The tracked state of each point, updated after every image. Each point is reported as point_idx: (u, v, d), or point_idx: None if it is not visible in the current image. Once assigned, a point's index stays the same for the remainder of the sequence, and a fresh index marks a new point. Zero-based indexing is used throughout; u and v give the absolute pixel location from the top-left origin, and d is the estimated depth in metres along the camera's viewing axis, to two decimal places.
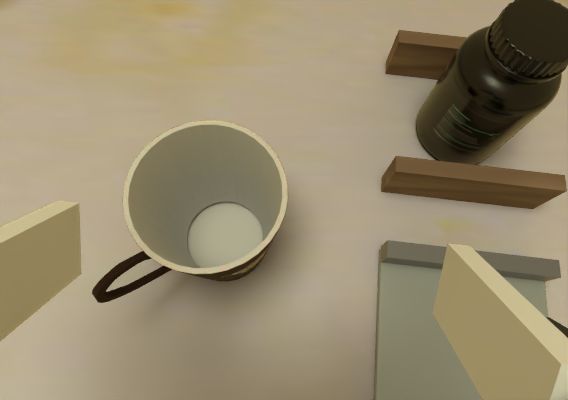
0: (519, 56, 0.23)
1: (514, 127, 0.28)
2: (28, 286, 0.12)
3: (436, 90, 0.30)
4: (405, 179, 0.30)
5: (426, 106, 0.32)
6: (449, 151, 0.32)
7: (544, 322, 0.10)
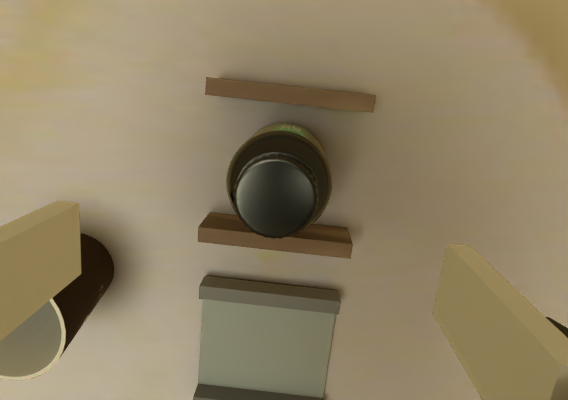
0: (249, 228, 0.24)
1: None
2: (28, 286, 0.12)
3: None
4: None
5: None
6: None
7: (544, 322, 0.10)
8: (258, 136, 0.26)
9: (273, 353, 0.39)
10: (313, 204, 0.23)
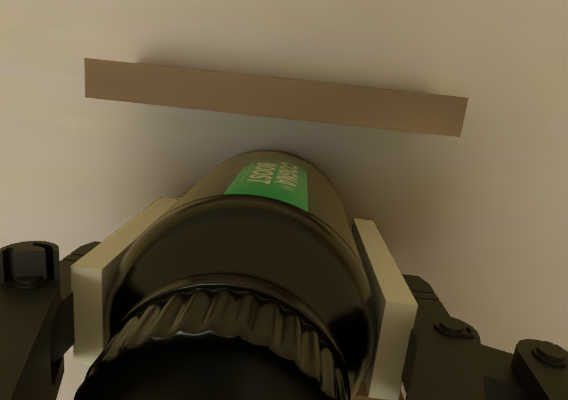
0: None
1: None
2: None
3: None
4: None
5: None
6: None
7: (395, 274, 0.11)
8: (181, 213, 0.10)
9: None
10: None
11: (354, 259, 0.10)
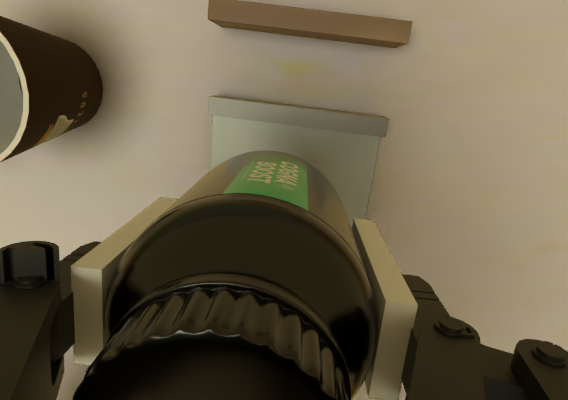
0: None
1: None
2: None
3: None
4: (228, 23, 0.26)
5: None
6: None
7: (395, 274, 0.11)
8: (180, 212, 0.09)
9: None
10: None
11: (354, 258, 0.10)
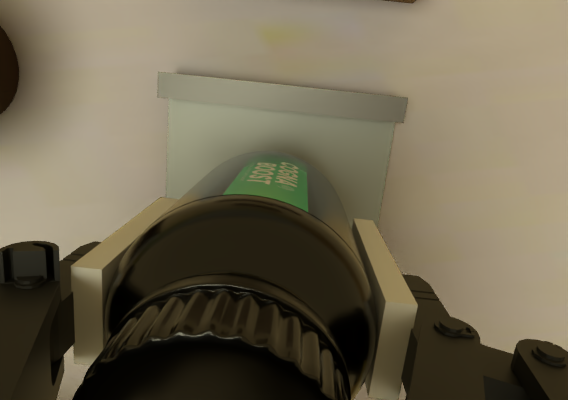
0: None
1: None
2: None
3: None
4: None
5: None
6: None
7: (395, 274, 0.11)
8: (180, 213, 0.09)
9: None
10: None
11: (354, 260, 0.10)
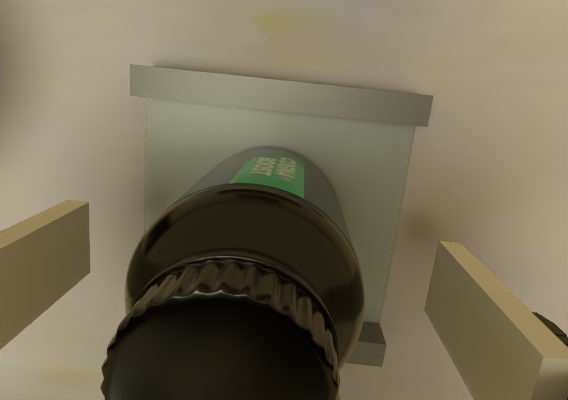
0: None
1: None
2: (40, 284, 0.12)
3: None
4: None
5: None
6: None
7: (529, 317, 0.10)
8: (192, 199, 0.11)
9: None
10: None
11: (344, 240, 0.11)
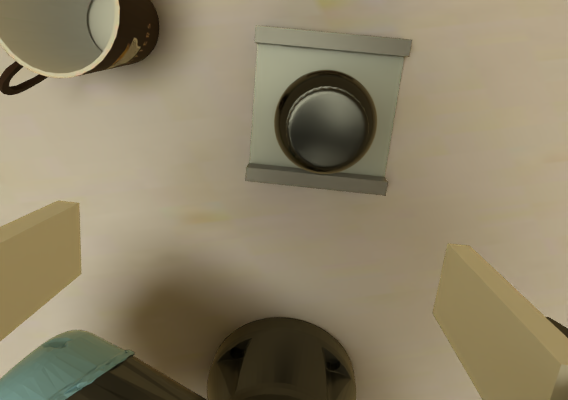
0: (300, 160, 0.25)
1: None
2: (28, 286, 0.12)
3: None
4: None
5: None
6: None
7: (544, 322, 0.10)
8: (306, 75, 0.26)
9: None
10: (364, 135, 0.24)
11: (368, 92, 0.27)
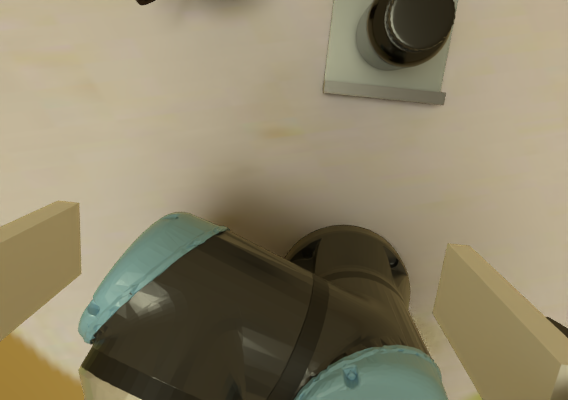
0: (398, 41, 0.31)
1: None
2: (28, 286, 0.12)
3: (362, 22, 0.37)
4: None
5: (359, 26, 0.39)
6: (374, 65, 0.40)
7: (544, 322, 0.10)
8: None
9: None
10: (452, 18, 0.30)
11: None
